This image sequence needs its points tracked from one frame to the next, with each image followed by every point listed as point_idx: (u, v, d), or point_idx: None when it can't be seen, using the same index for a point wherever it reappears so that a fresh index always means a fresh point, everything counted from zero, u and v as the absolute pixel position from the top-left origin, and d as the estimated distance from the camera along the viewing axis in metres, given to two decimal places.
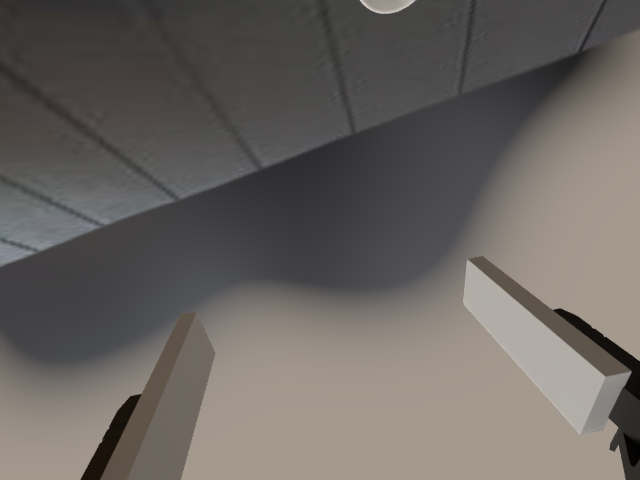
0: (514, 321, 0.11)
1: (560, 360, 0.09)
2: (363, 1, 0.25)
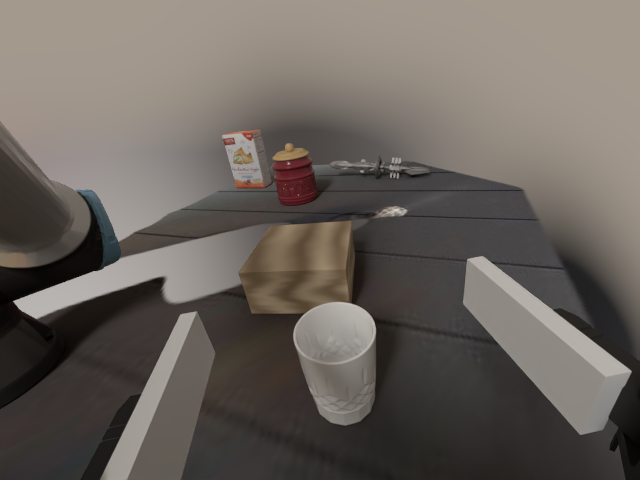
0: (514, 321, 0.11)
1: (560, 360, 0.09)
2: (341, 361, 0.24)
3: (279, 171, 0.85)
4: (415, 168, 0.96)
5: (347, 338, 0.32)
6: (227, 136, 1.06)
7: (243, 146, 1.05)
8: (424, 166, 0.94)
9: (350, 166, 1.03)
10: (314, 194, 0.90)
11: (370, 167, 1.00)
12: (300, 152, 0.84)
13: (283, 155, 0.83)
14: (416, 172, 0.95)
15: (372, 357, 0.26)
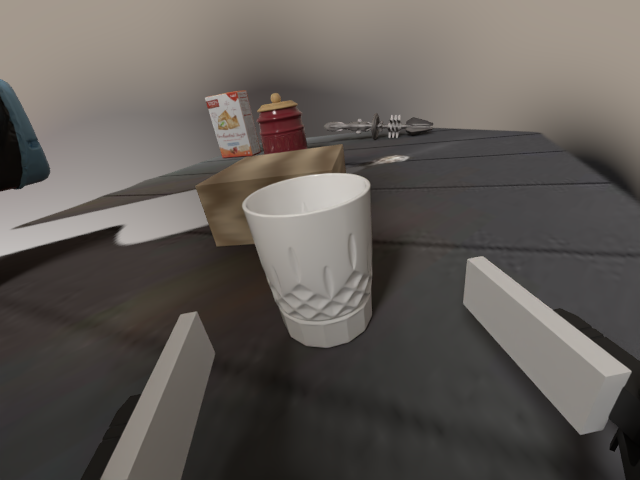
0: (514, 321, 0.11)
1: (560, 360, 0.09)
2: (312, 211, 0.14)
3: (264, 124, 0.76)
4: (416, 125, 0.86)
5: None
6: (210, 98, 0.97)
7: (228, 108, 0.96)
8: (426, 122, 0.85)
9: (345, 127, 0.94)
10: None
11: (367, 127, 0.92)
12: (287, 102, 0.75)
13: (268, 105, 0.74)
14: (417, 129, 0.86)
15: (365, 224, 0.16)
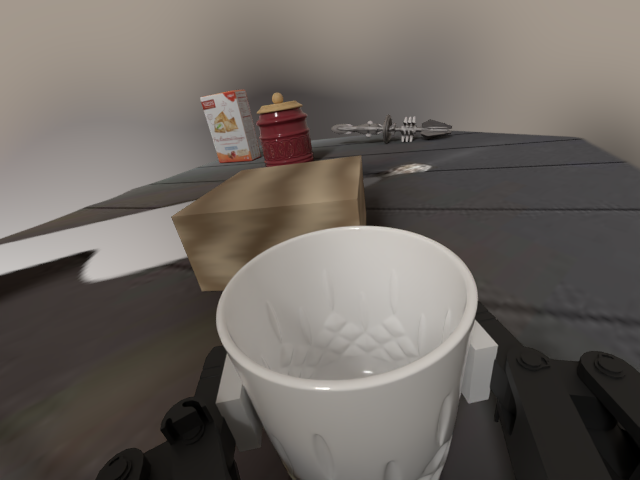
0: None
1: None
2: (375, 376, 0.06)
3: (265, 127, 0.67)
4: (433, 128, 0.78)
5: (369, 317, 0.14)
6: (206, 98, 0.89)
7: (225, 109, 0.88)
8: (444, 125, 0.77)
9: (354, 129, 0.87)
10: (309, 158, 0.72)
11: (378, 129, 0.84)
12: (291, 102, 0.67)
13: (269, 106, 0.66)
14: (434, 133, 0.77)
15: (466, 359, 0.08)
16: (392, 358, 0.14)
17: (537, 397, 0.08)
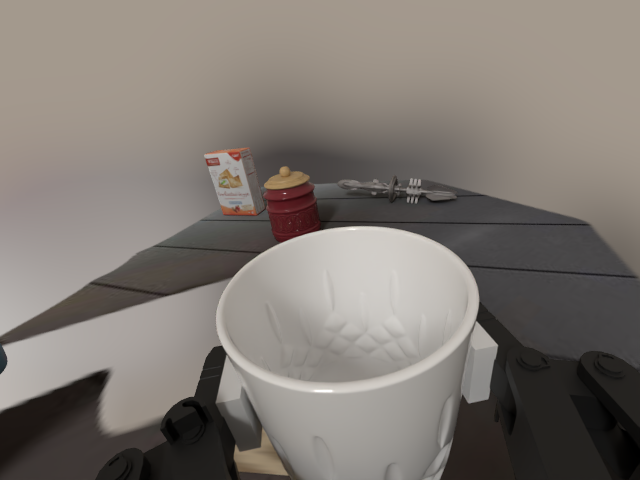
0: None
1: None
2: (376, 379, 0.06)
3: (273, 202, 0.67)
4: (438, 192, 0.78)
5: (369, 317, 0.14)
6: (210, 156, 0.88)
7: (230, 168, 0.88)
8: (449, 190, 0.77)
9: (360, 187, 0.88)
10: (317, 228, 0.72)
11: (383, 189, 0.84)
12: (299, 178, 0.67)
13: (277, 182, 0.66)
14: (439, 197, 0.78)
15: None
16: (392, 359, 0.14)
17: (537, 397, 0.08)
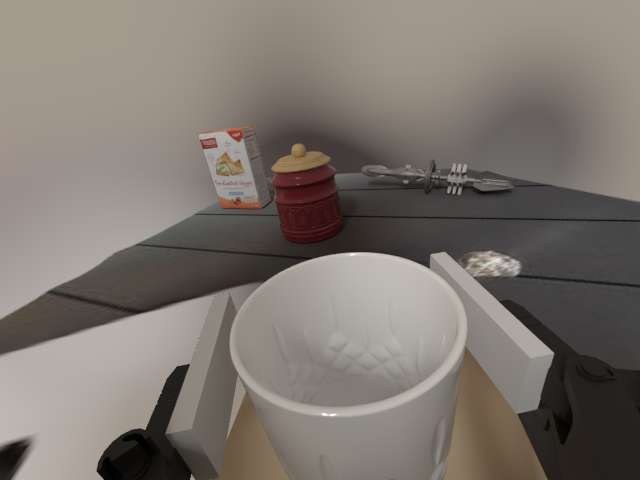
0: (466, 311, 0.12)
1: (499, 345, 0.10)
2: (375, 404, 0.07)
3: (283, 189, 0.52)
4: (489, 181, 0.62)
5: (370, 337, 0.15)
6: (206, 136, 0.73)
7: (229, 150, 0.72)
8: (505, 178, 0.60)
9: (388, 173, 0.72)
10: (338, 224, 0.56)
11: (418, 176, 0.69)
12: (317, 158, 0.51)
13: (289, 163, 0.50)
14: (490, 187, 0.62)
15: (459, 384, 0.09)
16: (393, 377, 0.15)
17: (599, 408, 0.07)
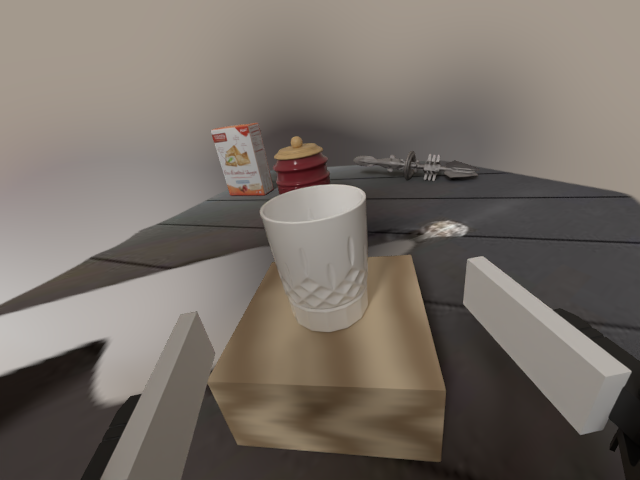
0: (514, 321, 0.11)
1: (560, 360, 0.09)
2: (319, 219, 0.18)
3: (283, 174, 0.63)
4: (457, 169, 0.73)
5: None
6: (217, 131, 0.84)
7: (237, 144, 0.84)
8: (470, 167, 0.72)
9: (376, 163, 0.84)
10: None
11: (400, 165, 0.81)
12: (311, 148, 0.62)
13: (289, 152, 0.62)
14: (458, 174, 0.73)
15: (361, 228, 0.20)
16: None
17: None
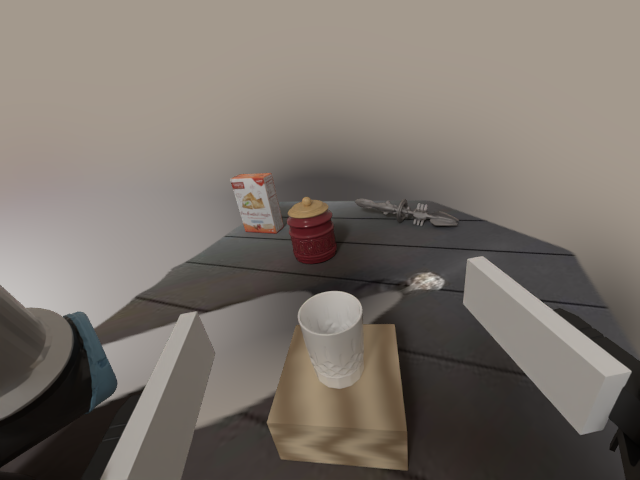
0: (514, 321, 0.11)
1: (560, 360, 0.09)
2: (335, 333, 0.31)
3: (296, 229, 0.77)
4: (441, 218, 0.87)
5: (341, 320, 0.40)
6: (236, 180, 0.98)
7: (253, 191, 0.97)
8: (451, 218, 0.85)
9: (374, 206, 0.99)
10: (334, 250, 0.81)
11: (393, 210, 0.95)
12: (319, 208, 0.76)
13: (300, 212, 0.75)
14: (441, 223, 0.86)
15: (359, 331, 0.33)
16: None
17: None
